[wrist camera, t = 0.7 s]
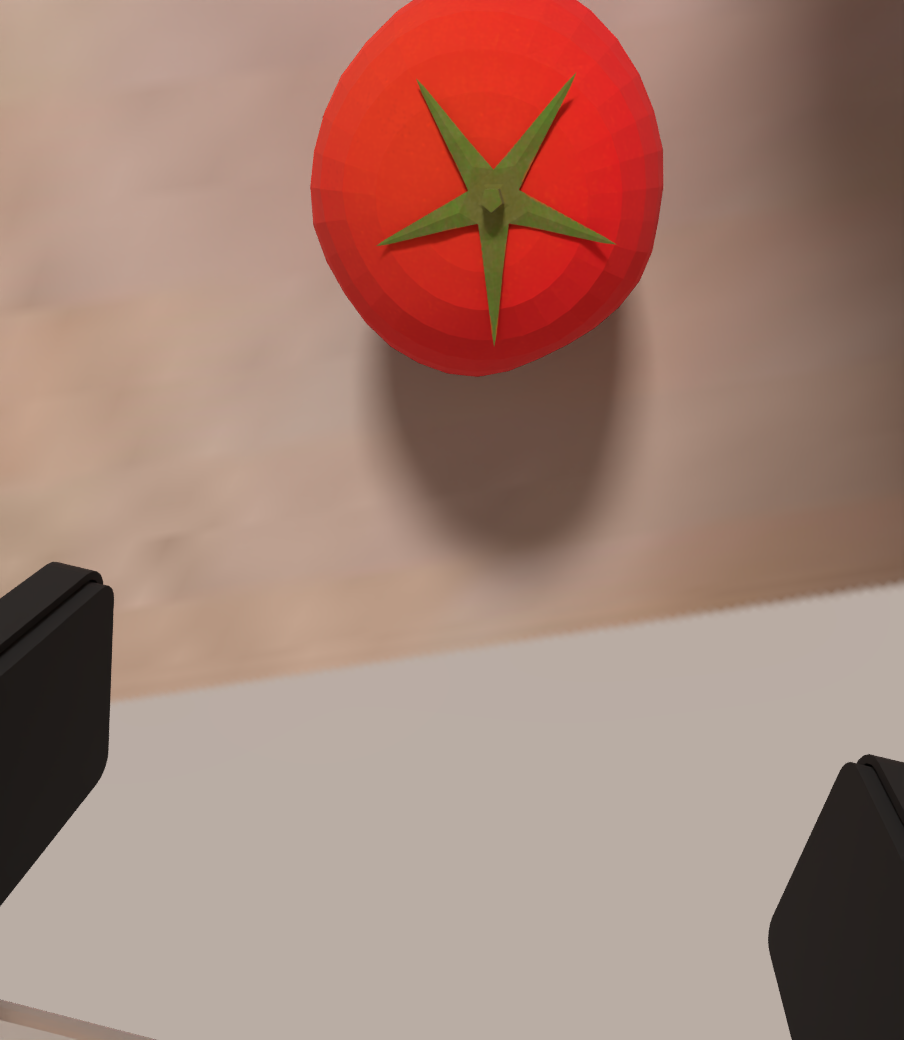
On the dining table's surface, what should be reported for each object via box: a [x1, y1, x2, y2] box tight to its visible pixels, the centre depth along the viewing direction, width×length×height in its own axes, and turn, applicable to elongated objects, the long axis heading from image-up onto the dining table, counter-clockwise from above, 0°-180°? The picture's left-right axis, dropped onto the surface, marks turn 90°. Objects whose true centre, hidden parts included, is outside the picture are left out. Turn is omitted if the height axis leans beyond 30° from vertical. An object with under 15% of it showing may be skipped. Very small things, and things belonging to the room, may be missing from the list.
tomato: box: [310, 0, 663, 377], centre depth 28 cm, size 13×11×14 cm
